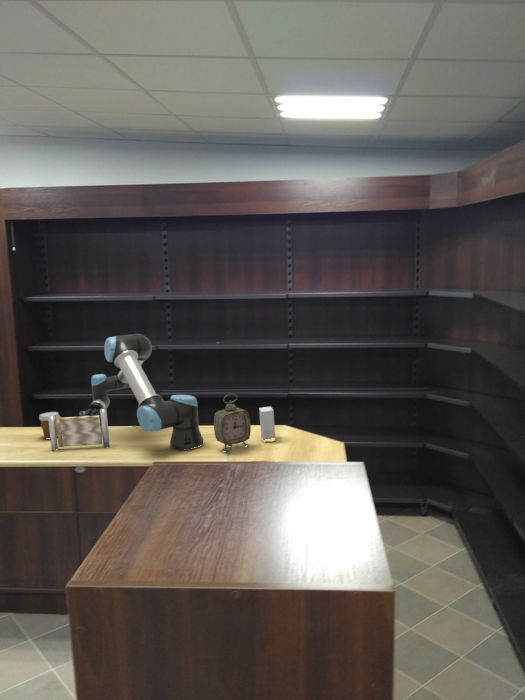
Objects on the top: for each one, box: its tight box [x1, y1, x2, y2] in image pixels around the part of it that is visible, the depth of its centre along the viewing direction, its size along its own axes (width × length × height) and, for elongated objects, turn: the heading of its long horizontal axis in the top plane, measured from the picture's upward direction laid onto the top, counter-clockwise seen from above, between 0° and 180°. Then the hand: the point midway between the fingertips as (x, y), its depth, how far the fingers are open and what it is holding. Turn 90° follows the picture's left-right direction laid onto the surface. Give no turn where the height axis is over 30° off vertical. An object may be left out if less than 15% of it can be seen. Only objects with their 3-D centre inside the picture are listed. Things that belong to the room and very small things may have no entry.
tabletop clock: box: [213, 393, 252, 452], centre depth 240 cm, size 14×9×25 cm, turn 123°
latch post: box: [48, 416, 59, 451], centre depth 249 cm, size 3×3×16 cm
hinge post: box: [100, 408, 111, 449], centre depth 250 cm, size 3×3×18 cm
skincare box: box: [258, 406, 276, 441], centre depth 250 cm, size 8×6×15 cm
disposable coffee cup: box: [38, 411, 60, 439], centre depth 269 cm, size 10×10×12 cm
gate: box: [55, 415, 103, 448], centre depth 250 cm, size 20×2×14 cm, turn 93°
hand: (83, 422), depth 256 cm, fingers closed
